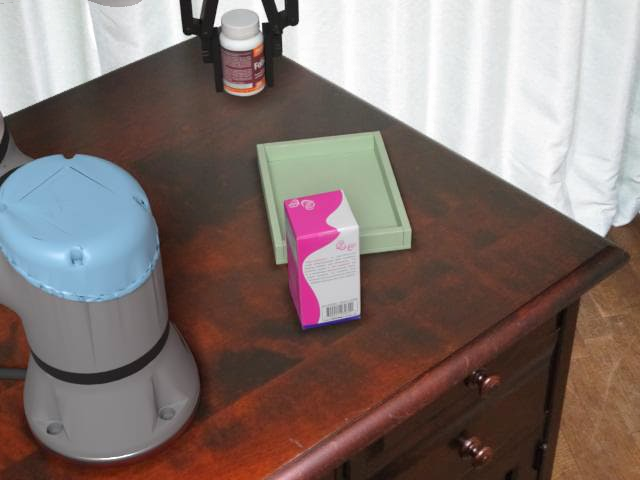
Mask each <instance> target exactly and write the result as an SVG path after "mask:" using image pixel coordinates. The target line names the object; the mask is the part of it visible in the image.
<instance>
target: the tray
mask: <svg viewBox="0 0 640 480" xmlns="http://www.w3.org/2000/svg"><path fill="white" fill-rule="evenodd" d="M255 146H256V156H257V157H256V159H257V166H258V167H257V168H258V172H259V177H260V178H259V179H260V182H261V183H260V184H261V188H262V189H261V190H262V193H263V198H264V199H263V200H264V204H265V205H264V206H265V210H266V216H267V221H268V226H269V231H270V238H271V244H272V248H273V254H274V259H275V264H276V265H284V264H288V260H287V245H286V230H285V216H284V200H289V199H295V198H300V197H305V196H311V195H316V194H322V193H327V192H332V191H337V190H343V192H344V194H345V197H346V199H347V201H348V203H349V206H350V208H351V210H352V212H353V214H354V216H355V219H356V221H357V223H358V225H359V241H360V255H368V254H375V253H385V252H394V251H401V250H409V249H411V248H412V232H413V231H412V226H411V224H410V221H409V218H408V214H407V212H406V208H405V205H404V202H403V199H402V196H401V192H400V189H399V186H398V183H397V180H396V177H395V174H394V169H393V167H392V165H391V161H390V159H389V155H388V153H387V152H388V151H387V149H386V146H385V142H384V140H383V137H382V133H381V131H380V130H375V131H366V132H357V133H356V132H355V133H348V134H339V135H331V136H329V135H328V136H321V137H319V136H318V137H311V138H302V139H293V140H284V141H275V142H266V143H257V144H256V145H255Z"/></svg>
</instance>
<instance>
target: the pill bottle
mask: <svg viewBox="0 0 640 480" xmlns="http://www.w3.org/2000/svg"><path fill="white" fill-rule="evenodd" d="M260 23H261V22H260V16H259V14H258V13H257V12H255V10H251V9H248V8H236V9H231V10H229V11H226V12H224V13H223V14H222V15H221V17H220V30H221V31H220V33H219V34H218V35H219V42H220V55H221V68H222V80H223V90H224V91H225V92H226V93H228V94H230V95H232V96H237V97H251V96H254V95H257V94H258V93H260V92H261V91H263V90H264V88H265V87H266V80H265V56H264V37H263V33H262V30H261V29H260V28H261V24H260Z"/></svg>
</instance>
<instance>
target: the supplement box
mask: <svg viewBox="0 0 640 480" xmlns="http://www.w3.org/2000/svg"><path fill="white" fill-rule="evenodd" d="M284 216H285V230H286V245H287V260H288V263H287V273H288V289H289V294H290V296H291V299H292V302H293V306H294V308H295V312H296V315H297V317H298V321H299V323H300V327H301V328H302V330H310V329H311V330H312V329H314V328H320V327H326V326H331V325H334V324H335V325H336V324H341V323H344V322H345V323H346V322H350V321H355V320H360V319H361V308H362V307H361V254H360V241H359V225H358V223H357V221H356V219H355V216H354V214H353V212H352V210H351V208H350V206H349V203H348V201H347V199H346V197H345V194H344V192H343V190H337V191H332V192H327V193H322V194H316V195H311V196H305V197H300V198H295V199H289V200H284Z"/></svg>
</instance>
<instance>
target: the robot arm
mask: <svg viewBox="0 0 640 480" xmlns="http://www.w3.org/2000/svg"><path fill="white" fill-rule="evenodd" d="M260 1H261V5H262V7H263V10H264V14H265V17H266V19H267V21H266V22H261V32H262V33H263V37H264V56H265V81H266V83H265V86H266V88H267V89H272V88H275V79H274V76H275V75H274V58H281V57H282V56H283V53H284V51H283V34H284V29H286V28H288V27H297V26H298V25H299V23H300V4H299V3H300V2H299V0H283V1H284V2H283V3H284V9H283V10H280V11H279V10H278V7H277V4H276V0H260ZM178 2H179V10H180V21H181V30H182V34H183V35H184V36H187V37H190V36H192V35H193V36H196V37H198V38H199V41H200V50H201V60H202V61H203V64H205V65H208V64H212V66H213V67H212V68H213V80H214V86H215V92H216V93H218V94H219V93H224V88H223V80H222V68H221V55H220V42H219V35H220V34H219V28H218V26H215V22H216V17H217V13H218V7H219V2H220V0H202V2H201V3H202V4H201V8H200V14H199V18H198V17H194V13H193V3H192V2H193V1H192V0H179V1H178ZM160 243H161V242H160V237H159V228H158V225H157V222H156V219H155V217H154V215H153V213H152V209H151V204H150V201H149V198H148V196H147V194H146V192H145V190H144V189H143V187H142V186H141V184H140V183H139V182H138V181H137V179H136V178H135V177H134V176H133V175H132V174H131V173H129V172H128V171H126V170H125V169H124V168H123V167H121V166H119V165H117V164H115V163H113V162H112V161H109V160H107V159H104V158H101V157H98V156H94V155H90V154H81V153H75V155H73V157H72V158H65V156H64V154H62V153H60V154H52V155H47V156H43V157H39V158H36V159H35V158H33V157H30V156H28V155H26V154H25V153H23V152H22V151H21V150H20V148H18V147H17V145H16V143H15V141H14V138H13V135H12V133H11V131H10V129H9V126H8V124H7V122H6V120H5V118H4V115H3V113H2V111H1V110H0V304H1V305H2V306H5V307H6V308H8V309H9V310H11V311H13V312H14V313H16V315H17V316H18V317H19V318H20V320H21V323H22V327H23V330H24V334H25V337H26V341H27V343H28V348H29V351H30V352H29V358H28V363H27V368H17V367H0V380H13V381H14V380H15V381H16V380H18V381H24V385H23V393H22V394H23V395H22V396H23V409H24V415H25V419H26V422H27V425H28V427H29V430H30V433H31V435H32V436H33V438H34V440H35V441H36V442H37V444H39V446H40V447H41V448H42V449H43V450H44V451H45V452H47V453H48V454H50V456H53V457H54V458H56V459H58V460H60V461H62V462H65V463H67V464H69V465H73V466H77V467H81V468H82V467H83V468H88V469H112V468H113V469H114V468H120V467H125V466H131V465H133V464H137V463H139V462H142V461H146V460H147V459H150V458H152V457H154V456H156V455H159V453H161V452H163V451H164V450H166V449H168V447H170V446H172V445H173V444H174V443H175V442H176V441H177V440H178V439H179V438H180V437H181V436H182V435H183V434H184V433H185V432H186V431H187V429H189V427H190V425H191V424H192V422H193V421H194V419H195V417H196V415H197V413H198V410H199V407H200V402H201V396H202V386H201V379H200V373H199V368H198V365H197V363H196V360H195V357H194V355H193V353H192V351H191V349H190V348H189V345H188V343H186V341H185V339H184V337H183V336H182V333H181V332H180V331H179V329H178V328H177V326H176V324H175V323H174V321H172V320H171V319H170V315H169V308H168V301H167V292H166V286H165V285H166V284H165V278H164V271H163V262H162V255H161V254H162V253H161V248H160Z"/></svg>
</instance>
